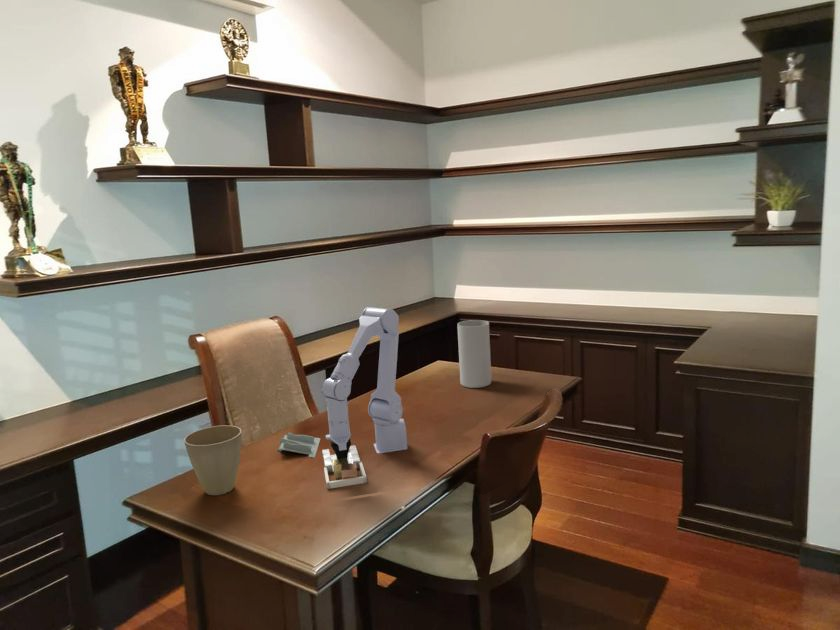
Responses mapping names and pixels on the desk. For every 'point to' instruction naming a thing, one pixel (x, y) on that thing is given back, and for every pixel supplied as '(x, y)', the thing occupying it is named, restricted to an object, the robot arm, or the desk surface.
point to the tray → (346, 481)
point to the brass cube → (339, 466)
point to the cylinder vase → (474, 353)
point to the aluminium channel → (328, 458)
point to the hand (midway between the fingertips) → (342, 464)
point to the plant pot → (215, 457)
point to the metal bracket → (299, 444)
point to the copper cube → (349, 470)
